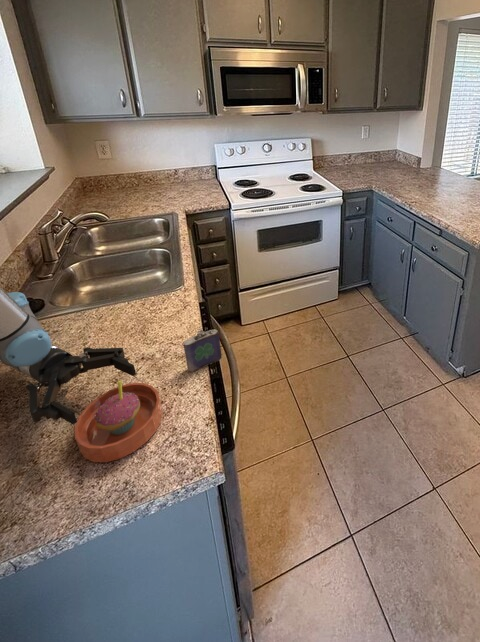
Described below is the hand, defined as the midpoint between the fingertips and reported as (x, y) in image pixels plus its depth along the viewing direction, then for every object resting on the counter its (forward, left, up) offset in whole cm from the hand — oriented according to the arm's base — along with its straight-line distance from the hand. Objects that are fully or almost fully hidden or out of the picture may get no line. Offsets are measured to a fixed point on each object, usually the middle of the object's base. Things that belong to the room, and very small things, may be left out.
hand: (106, 392), depth 77 cm
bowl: (+2, -1, -10) cm, 10 cm away
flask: (+19, +14, -10) cm, 25 cm away
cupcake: (+2, -1, -9) cm, 9 cm away
